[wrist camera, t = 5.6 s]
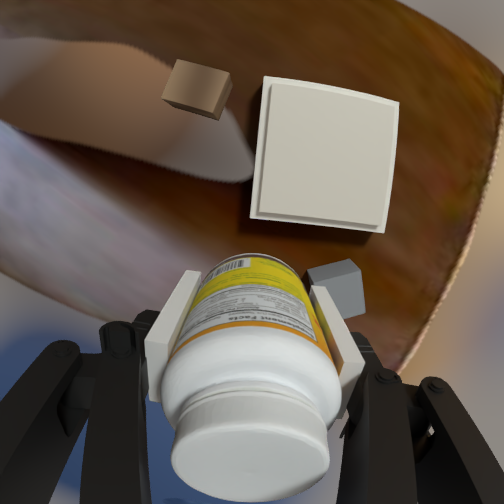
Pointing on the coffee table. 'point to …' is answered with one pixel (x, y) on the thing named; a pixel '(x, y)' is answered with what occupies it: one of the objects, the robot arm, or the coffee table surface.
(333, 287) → the grey matte cube
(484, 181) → the coffee table surface
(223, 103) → the walnut block
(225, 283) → the supplement bottle
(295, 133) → the podium
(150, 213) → the coffee table surface
